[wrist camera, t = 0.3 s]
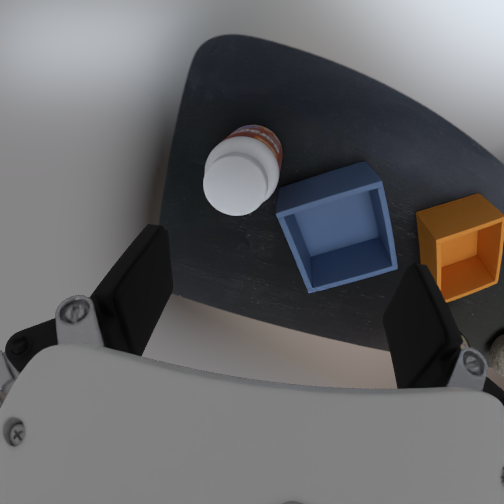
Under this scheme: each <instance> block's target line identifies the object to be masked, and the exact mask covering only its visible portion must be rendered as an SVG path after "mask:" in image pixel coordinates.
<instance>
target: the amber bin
mask: <svg viewBox="0 0 504 504" xmlns="http://www.w3.org/2000/svg"><path fill="white" fill-rule="evenodd" d="M416 220H417V228H418V237H419V247H420V260H421V264H423V265H427V267H428V268H429V270H430V272H431V274H432V276H433V278H434V279H435V281H436V283H437V285H438V287H439V289H440V291H441V293H442V295H443V297H444V299H445V301H446V303H447V302H450V301H453V300H455V299H458V298H461V297H463V296H466V295H469V294H471V293H474V292H476V291H479V290H481V289H484V288H486V287H489V286H491V285H493V284H496V283H498V277H499V272H500V265H501V258H502V250H503V241H504V215H503V214H502V213H501V212H500V211H499V210H498V209H497V208H496V207H495V206H493V205H492V204H491V203H490V202H489V201H488V200H487V199H485V198H484V197H483V196H482V195H481V194H479V193H477V194H474V195H471V196H467V197H464V198H461V199H458V200H454V201H451V202H448V203H444V204H441V205H438V206H434V207H431V208H428V209H425V210H421V211H418V212H416Z"/></svg>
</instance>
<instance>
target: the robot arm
mask: <svg viewBox="0 0 504 504" xmlns="http://www.w3.org/2000/svg"><path fill="white" fill-rule="evenodd" d="M172 290H173V279H172V270H171V260H170V250H169V238H168V231H167V230H164V227H163V226H160V225H151V224H148V225H147V226H146V227H145V228H144V229H143V231H142V232H141V233H140V234H139V235H138V236H137V238H136V239H135V240H134V241H133V242H132V244H131V245H130V246H129V247H128V248H127V250H126V251H125V252H124V253H123V255H122V256H121V257H120V258H119V260H118V261H117V262H116V263H115V265H114V266H113V267H112V268H111V270H110V271H109V272H108V274H107V275H106V276H105V278H104V279H103V280H102V281H101V283H100V284H99V285H98V287H97V288H96V290H95V291H94V292H93V294H92V295H91V296H90V298H89V297H86V296H84V295H76V296H72V297H69V298H67V299H65V300H64V301H63V302H62V303H61V304H60V305H59V306H58V308H57V310H56V315H55V318H54V319H52V320H49V321H46V322H43V323H41V324H38V325H35V326H33V327H30V328H27V329H24V330H22V331H19V332H17V333H15V334H14V335H13V336H12V337H11V338H10V339H9V340H8V342H7V344H6V347H5V352H4V353H3V352H2V351H0V504H504V391H503V390H502V389H501V388H500V387H498V386H497V385H496V384H495V383H494V382H493V381H491V380H490V379H489V378H487V377H486V375H487V363H486V361H485V358H484V357H483V356H482V354H481V353H480V352H479V351H478V350H476V349H474V348H471V347H466V348H464V349H461V347H460V346H461V344H462V343H463V342H464V341H463V339H462V337H461V334H460V332H459V329H458V327H457V325H456V323H455V320H454V318H453V316H452V314H451V312H450V310H449V307H448V305H447V303H446V301H445V299H444V297H443V295H442V293H441V291H440V289H439V287H438V285H437V283H436V281H435V279H434V278H433V276H432V274H431V272H430V270H429V268H428V267H427V265H423V264H417V263H413V264H412V265H411V266H408V267H407V269H406V271H405V273H404V275H403V278H402V280H401V282H400V284H399V286H398V288H397V290H396V292H395V294H394V296H393V298H392V300H391V302H390V304H389V306H388V308H387V310H386V312H385V314H384V317H383V324H384V328H385V332H386V336H387V340H388V345H389V349H390V353H391V357H392V362H393V367H394V372H395V377H396V383H397V387H398V389H355V388H333V387H318V386H305V385H295V384H285V383H276V382H269V381H261V380H254V379H247V378H241V377H234V376H229V375H223V374H217V373H212V372H207V371H202V370H197V369H192V368H188V367H182V366H179V365H174V364H170V363H165V362H162V361H157V360H153V359H149V358H145V357H141V356H142V354H143V352H144V350H145V347H146V345H147V343H148V341H149V339H150V337H151V334H152V332H153V330H154V328H155V326H156V324H157V322H158V320H159V318H160V316H161V314H162V311H163V309H164V307H165V305H166V303H167V301H168V299H169V297H170V295H171V293H172Z"/></svg>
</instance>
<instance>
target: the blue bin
mask: <svg viewBox="0 0 504 504" xmlns="http://www.w3.org/2000/svg"><path fill="white" fill-rule="evenodd" d="M276 216H277V218H278V221H279V223H280V225H281V228H282V230H283V232H284V235H285V237H286V239H287V242H288V244H289V246H290V249H291V251H292V253H293V256H294V258H295V261H296V263H297V266H298V268H299V270H300V273H301V275H302V278H303V280H304V283H305V285H306V288H307V290H308V293H312V292H316V291H320V290H324V289H328V288H332V287H336V286H339V285H343V284H347V283H350V282H354V281H358V280H361V279H365V278H368V277H372V276H375V275H379V274H382V273H385V272H389V271H392V270H395V269H398V266H397V259H396V252H395V245H394V239H393V233H392V227H391V222H390V216H389V211H388V206H387V202H386V197H385V192H384V188H383V184H382V181H381V179H380V178H379V177H378V176H377V174H376V173H375V172H374V171H373V170H372V168H371V167H370V166H369V165H368V164H367V163H366V161H363V162H360V163H356V164H353V165H350V166H346V167H343V168H340V169H336V170H333V171H330V172H327V173H324V174H320V175H317V176H314V177H311V178H308V179H305V180H302V181H299V182H296V183H293V184H290V185H287V186H284V187H281V188H279V190H278V198H277V206H276Z"/></svg>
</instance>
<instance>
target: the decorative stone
mask: <svg viewBox="0 0 504 504" xmlns="http://www.w3.org/2000/svg"><path fill="white" fill-rule="evenodd" d="M489 359H490V362H491V366H492V368H493V369H494V370H495V372H496V373H497V374H499V375H501V376H503V377H504V334H502V335H500V336H499V337H497V338H496V340H495V341H494V342H493V344H492V346H491V348H490V353H489Z"/></svg>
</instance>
